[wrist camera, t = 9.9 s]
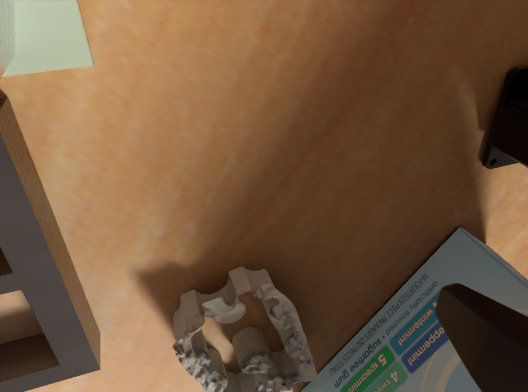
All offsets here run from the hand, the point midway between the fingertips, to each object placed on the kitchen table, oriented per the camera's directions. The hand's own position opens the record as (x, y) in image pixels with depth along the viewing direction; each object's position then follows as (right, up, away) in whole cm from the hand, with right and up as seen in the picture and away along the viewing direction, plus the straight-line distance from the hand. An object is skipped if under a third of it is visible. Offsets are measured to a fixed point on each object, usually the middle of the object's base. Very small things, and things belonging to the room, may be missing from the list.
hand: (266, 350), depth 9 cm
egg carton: (-2, -5, +20) cm, 20 cm away
